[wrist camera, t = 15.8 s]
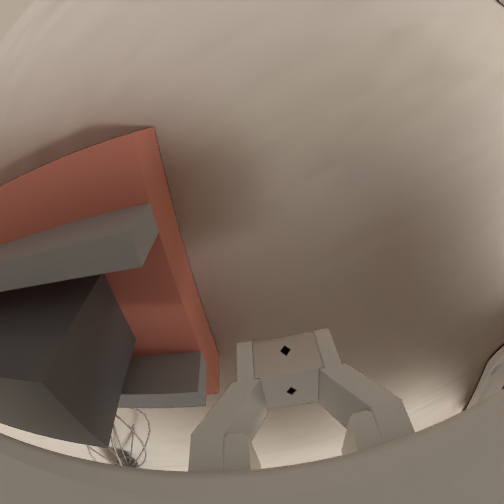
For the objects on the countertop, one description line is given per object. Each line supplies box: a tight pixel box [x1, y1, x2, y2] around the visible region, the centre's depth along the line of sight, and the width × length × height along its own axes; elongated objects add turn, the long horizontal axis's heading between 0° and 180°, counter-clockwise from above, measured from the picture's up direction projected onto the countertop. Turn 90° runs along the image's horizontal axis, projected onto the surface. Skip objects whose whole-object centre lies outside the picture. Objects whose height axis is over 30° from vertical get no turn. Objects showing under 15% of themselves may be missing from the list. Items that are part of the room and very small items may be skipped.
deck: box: [0, 127, 219, 408], centre depth 12 cm, size 14×16×6 cm
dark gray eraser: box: [0, 274, 136, 448], centre depth 10 cm, size 4×9×6 cm, turn 99°
